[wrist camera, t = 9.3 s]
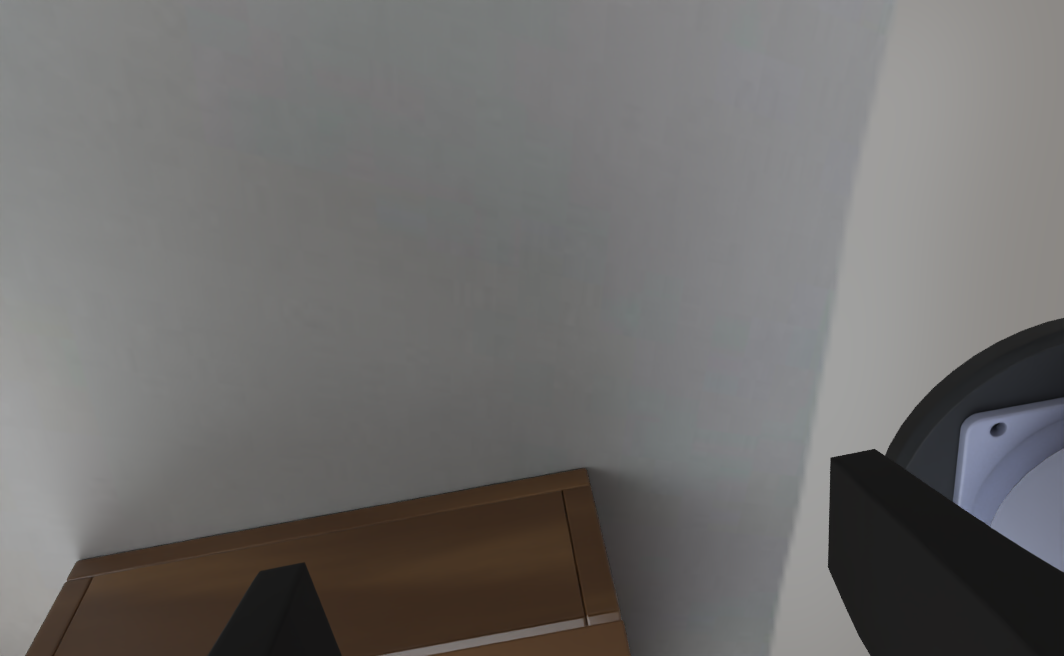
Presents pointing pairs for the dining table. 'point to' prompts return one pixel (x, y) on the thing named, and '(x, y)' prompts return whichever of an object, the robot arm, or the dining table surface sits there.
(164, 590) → the wooden tray
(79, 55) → the dining table surface
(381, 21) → the dining table surface
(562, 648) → the brown box
